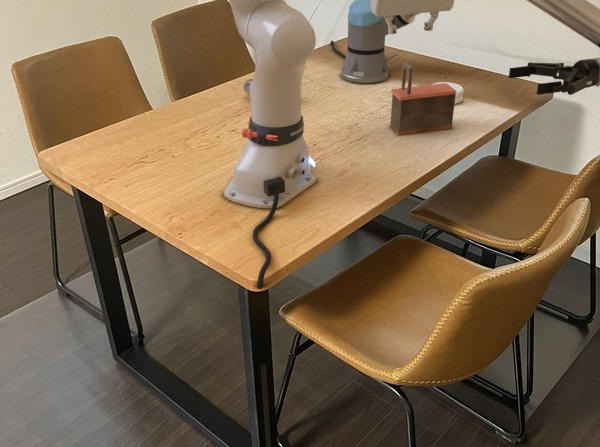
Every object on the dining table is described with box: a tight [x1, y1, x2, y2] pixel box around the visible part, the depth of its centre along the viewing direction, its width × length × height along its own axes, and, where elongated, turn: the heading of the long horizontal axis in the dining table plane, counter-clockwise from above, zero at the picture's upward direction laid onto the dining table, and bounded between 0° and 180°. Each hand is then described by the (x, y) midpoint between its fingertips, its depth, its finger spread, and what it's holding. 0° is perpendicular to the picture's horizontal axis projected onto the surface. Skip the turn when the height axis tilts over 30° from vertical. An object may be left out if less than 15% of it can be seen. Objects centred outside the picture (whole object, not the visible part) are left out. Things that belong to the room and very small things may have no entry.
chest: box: [389, 93, 456, 136], centre depth 163 cm, size 15×6×10 cm, turn 105°
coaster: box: [431, 81, 465, 105], centre depth 182 cm, size 10×10×4 cm
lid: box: [390, 61, 456, 100], centre depth 158 cm, size 16×6×8 cm, turn 105°
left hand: (410, 31), depth 151 cm, fingers open, 8 cm apart
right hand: (523, 81), depth 167 cm, fingers open, 13 cm apart
